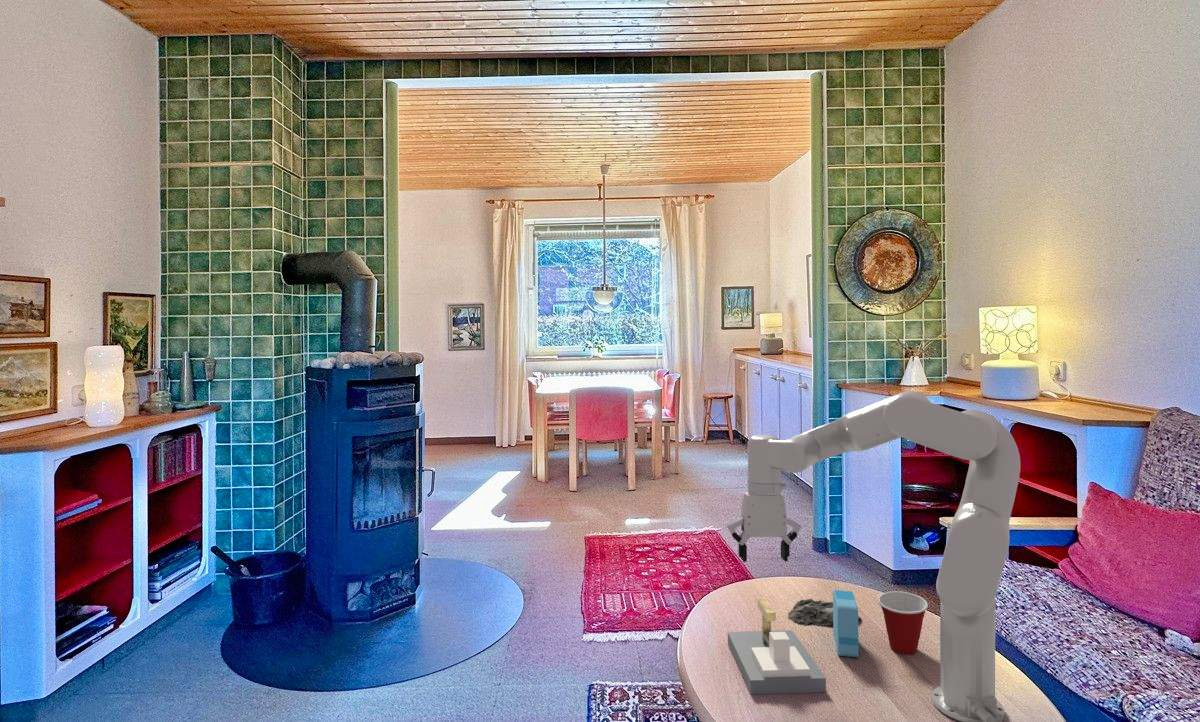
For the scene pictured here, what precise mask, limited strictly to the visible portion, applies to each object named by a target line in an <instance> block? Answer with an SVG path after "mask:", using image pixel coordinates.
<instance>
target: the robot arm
mask: <svg viewBox="0 0 1200 722" xmlns="http://www.w3.org/2000/svg"><path fill="white" fill-rule="evenodd" d="M901 438H903V439H904V440H907V441H910V442H913V443H916V444H918V445H921V446H924V447H926V448H929V449H933V450H935V451H938V452H941V453H943V454H947V455H949V456H951V457H954V458H959V459H962V460H967V461H969V463H968V464H969V466H968V469H967V470H968V471H967V473H966V478H965V484H964V488H963V491H962V495H961V499H960V502H959V505H958V508H957V510H956V512H955V514H954V516H953V519H952V521H951V525H950V528H949V532H948V536H947V539H946V544H945V548H944V551H943V556H942V560H941V563H940V566H939V570H938V575H937V578H936V583H935V585H936V587H935V588H936V594H937V597H938V598H939V600H940V606H939V607H940V610H939V611H940V616H939V617H940V620H939V621H940V624H939V630H940V631H939V632H940V633H939V639H940V640H939V641H940V642H939V643H940V644H939V645H940V647H939V649H940V650H939V651H940V652H939V653H940V654H939V655H940V661H939V662H940V666H939V667H940V668H939V669H940V671H939V672H940V675H939V676H940V678H939V679H940V686H937V687H936V688H934V690H932V693H931V700H932V701H931V702H932V703H933V705H934V706H935V708H937V710H939V711H940V712H941V713H943V714H944V715H946V716H948V717H950V718H951V719H954V720H956V721H959V722H1003V721H1004V719H1005V714H1006V713H1005V708H1004V706H1003V705H1002V703H1001V702H1000V701H998V699H997V698H996V598H997V597H996V595H997V592H998V588H999V585H1000V582H1001V579H1002V575H1003V571H1004V568H1005V564H1006V560H1007V556H1008V551H1009V546H1010V520H1011V517H1012V510H1013V507H1014V503H1015V499H1016V494H1017V489H1018V485H1019V482H1020V481H1019V480H1020V473H1021V456H1020V452H1019V448H1018V446H1017V443H1016V441H1015V438H1014V437H1013V434H1012V433H1011V432H1010V431H1009V430H1008V428H1007V427H1006V426H1005V425H1004V424H1003V423H1001V421H999V420H998V419H997V418H996V417H995V416H993V415H992V414H989V413H987V412H986V411H983V410H979V409H973V408H972V409H966V410H963V411H959V410H956V409H952V408H949V407H945V406H943V405H939V404H936V403H934V402H931V401H930V399H929V398H928V397H927V396H926V395H924V394H923V393H921V392H919V391H913V390H911V391H910V390H909V391H903V392H899V393H898V394H895V395H892V396H890V397H888V398H885V399H883V400H880V401H876V402H874V403H872V404H870V405H867V406H865V407H862V408H859V409H856V410H854V411H852V412H849V413H846V414H844V415H842V416H841V417H839V418H837V419H836V420H834V421H830V422H829V423H825V424H823V425H820V426H818V427H816V428H813V429H810V430H808V431H805V432H802V433H800V434H797V435H794V436H792V437H791V438H789V439H788V438H787V439H785V440H783V439H781V440H780V438H778V436H775V435H772V434H771V435H769V434H757V435H756V434H755V435H752V436H751V437H749V438H748V441H747V491H745V492H744V493H743V497H742V502H741V513H740V517H739V518H737V519H735V520H733V521H731V522H730V523H728V524H727V525H726V527H727V530H728V531H729V533H730V535H731V537H732V538H733V539H734V540H735V541H736V542H737V543H738V557H739V558H740V559H741V561H742V562H743V563H746V562H747V560H748V553H747V551H748V548H747V547H748V545H747V542H748V541H749V539H750V538H781V539H782V540H781V541H780V558H781V559H782V560H783V561H784V562H786V563H787V562H788V561H789V559H788V558H789V557H790V554H791V553H790V551H791V548H790V545H791V544H792V542H793V541H794V540H795V539H796V538H797V537H798V534H799V533H800V530H801V529H802V525H801V524H800V523H799V522H797V521H794V520H793V519H791V518H789V517H787V515H788V514H787V507H786V499H785V496H784V494H783V490H784V489H787V487H788V484H787V483H786V482H782V480H781V479H782V477H781V476H782V471H783V472H786V473H790V474H798V473H802V472H804V471H806V470H807V469H808V468H809V467H811V466H813V465H814V464H818V463H819V462H822V461H824V460H825V461H826V460H827V459H830V458H834V457H836V456H839V455H841V454H844V453H850V452H864V451H867V450H871V449H873V448H876V447H879V446H882V445H884V444H887V443H890V442H892V441H893V442H894V441H895V440H899V439H901ZM788 525H789V526H790V527H792V528H791V530H790V532H788ZM738 527H740V529H741V533H739V534H738V533H737V531H736V529H737V528H738Z"/></svg>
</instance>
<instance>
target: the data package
mask: <svg viewBox="0 0 1200 722" xmlns="http://www.w3.org/2000/svg"><path fill="white" fill-rule="evenodd" d="M832 602H833V627H832V628H833V630H832V631H833V638H834V643H835V648H836V649H835V650H836V653H837V655H838V656H839V657H840V656H841V657H851V658H859V654H860V652H859V651H860V647H859V621H858V616H859V609H858V604H857V601H856V598H855V595H854V593H853V591H852V590H841V589H840V590H839V589H834V590H832Z"/></svg>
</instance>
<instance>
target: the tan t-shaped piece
mask: <svg viewBox="0 0 1200 722" xmlns="http://www.w3.org/2000/svg"><path fill="white" fill-rule="evenodd" d="M757 608H758V610H759V611H760V613H761V626H762V627H761V629H762V630H761V631H762V642H763V643H765V644H768V646H769V632H771V631H772V622H776V621H777V618H776V614H777V613H776V611H775V609H774V608H773V607H772V606H771V604H770V603H769V601H768V599H767V598H765V597H764V598H763V597H762V598H759V597H758V598H757Z"/></svg>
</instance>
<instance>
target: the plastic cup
mask: <svg viewBox="0 0 1200 722" xmlns="http://www.w3.org/2000/svg"><path fill="white" fill-rule="evenodd" d="M877 600H878V604H879V605H880V607H881V610H882V614H883V618H884V623H885V628H886V633H887V636H888V637H887V638H888V642H889V643H888V644H889V647H890V649H891V650H892V651H893V652H895V653H898V654H901V655H907V656H908V655H909V656H910V655H913V654H916V653H917V651H918V648H919V642H920V638H921V632H922V627H923V622H924V618H925V613H926V611H927V609H928V606H929V605H928V602H927V600H925V598H923V597H922V596H919V595H918V594H915V593H911V592H906V591H899V590H898V591H895V590H893V591H886V592H884V593H881V594H880V595H879V596H878V597H877Z"/></svg>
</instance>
